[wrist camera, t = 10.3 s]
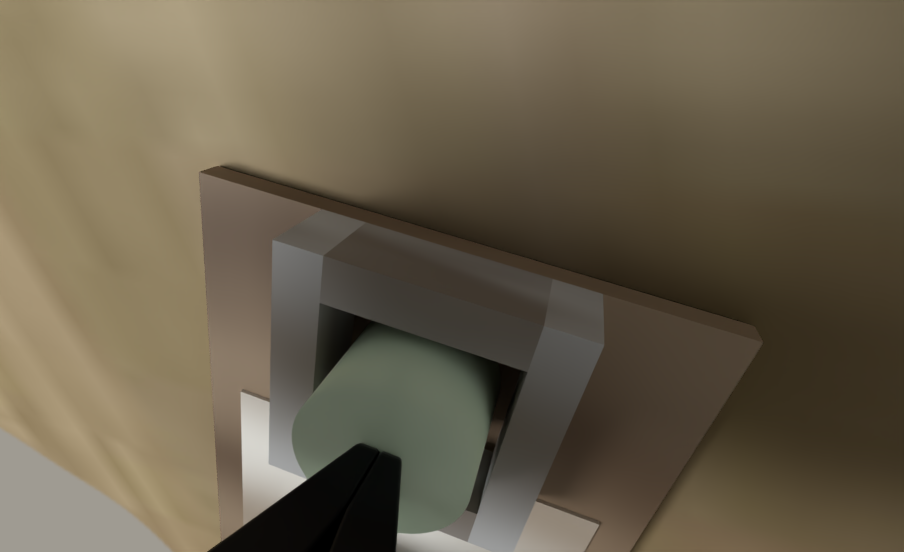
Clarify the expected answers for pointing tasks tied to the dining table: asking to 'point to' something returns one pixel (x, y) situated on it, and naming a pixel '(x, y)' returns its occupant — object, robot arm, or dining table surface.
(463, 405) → the button
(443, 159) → the dining table surface
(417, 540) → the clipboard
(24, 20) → the dining table surface
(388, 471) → the robot arm
